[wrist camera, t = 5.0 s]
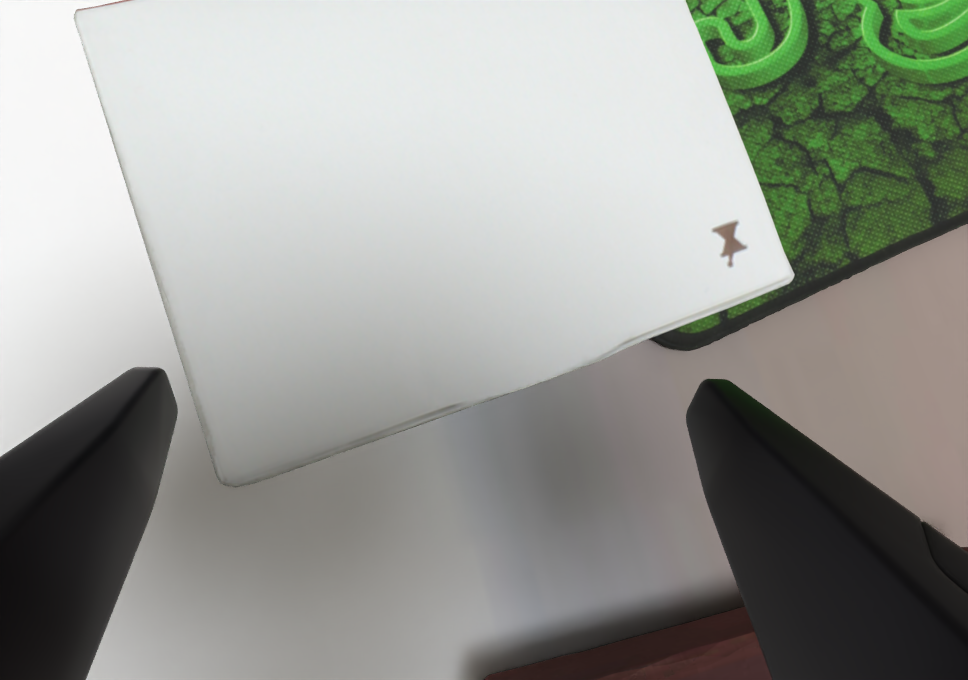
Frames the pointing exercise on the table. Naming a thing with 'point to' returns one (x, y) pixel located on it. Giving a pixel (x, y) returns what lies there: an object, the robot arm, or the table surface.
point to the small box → (418, 201)
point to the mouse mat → (841, 132)
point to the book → (664, 655)
